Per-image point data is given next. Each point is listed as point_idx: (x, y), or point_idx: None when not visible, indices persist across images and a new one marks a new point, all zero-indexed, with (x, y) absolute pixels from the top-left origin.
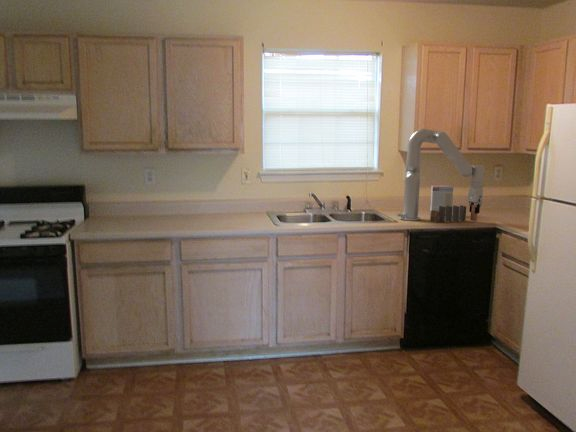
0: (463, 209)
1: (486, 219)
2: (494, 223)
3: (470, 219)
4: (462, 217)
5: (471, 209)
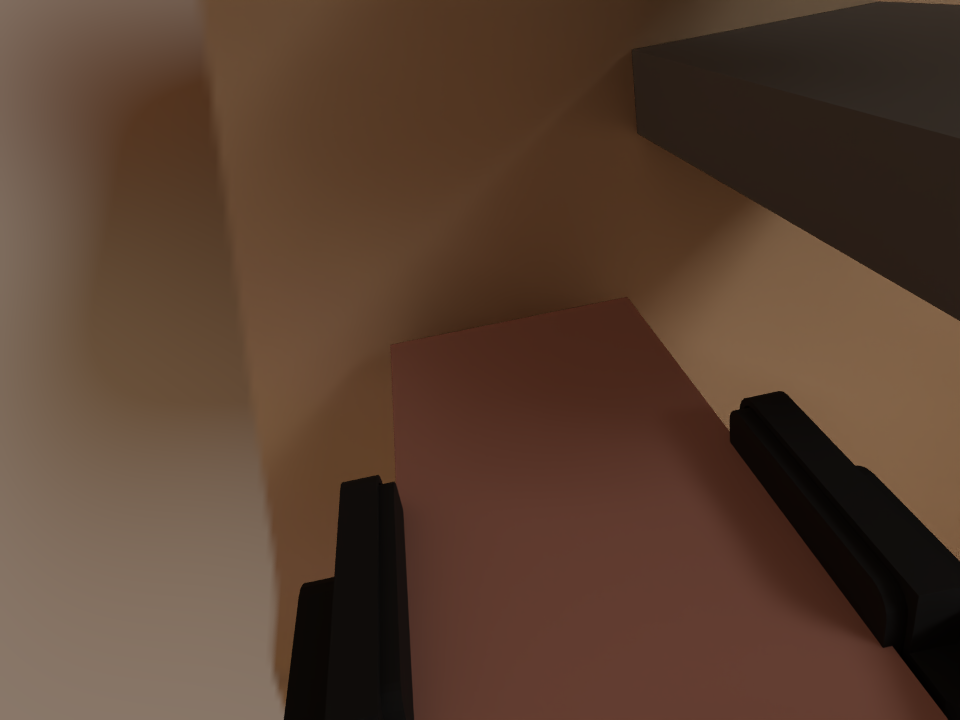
0: (928, 105)
1: None
2: None
3: (618, 304)
4: (743, 50)
5: (756, 515)
